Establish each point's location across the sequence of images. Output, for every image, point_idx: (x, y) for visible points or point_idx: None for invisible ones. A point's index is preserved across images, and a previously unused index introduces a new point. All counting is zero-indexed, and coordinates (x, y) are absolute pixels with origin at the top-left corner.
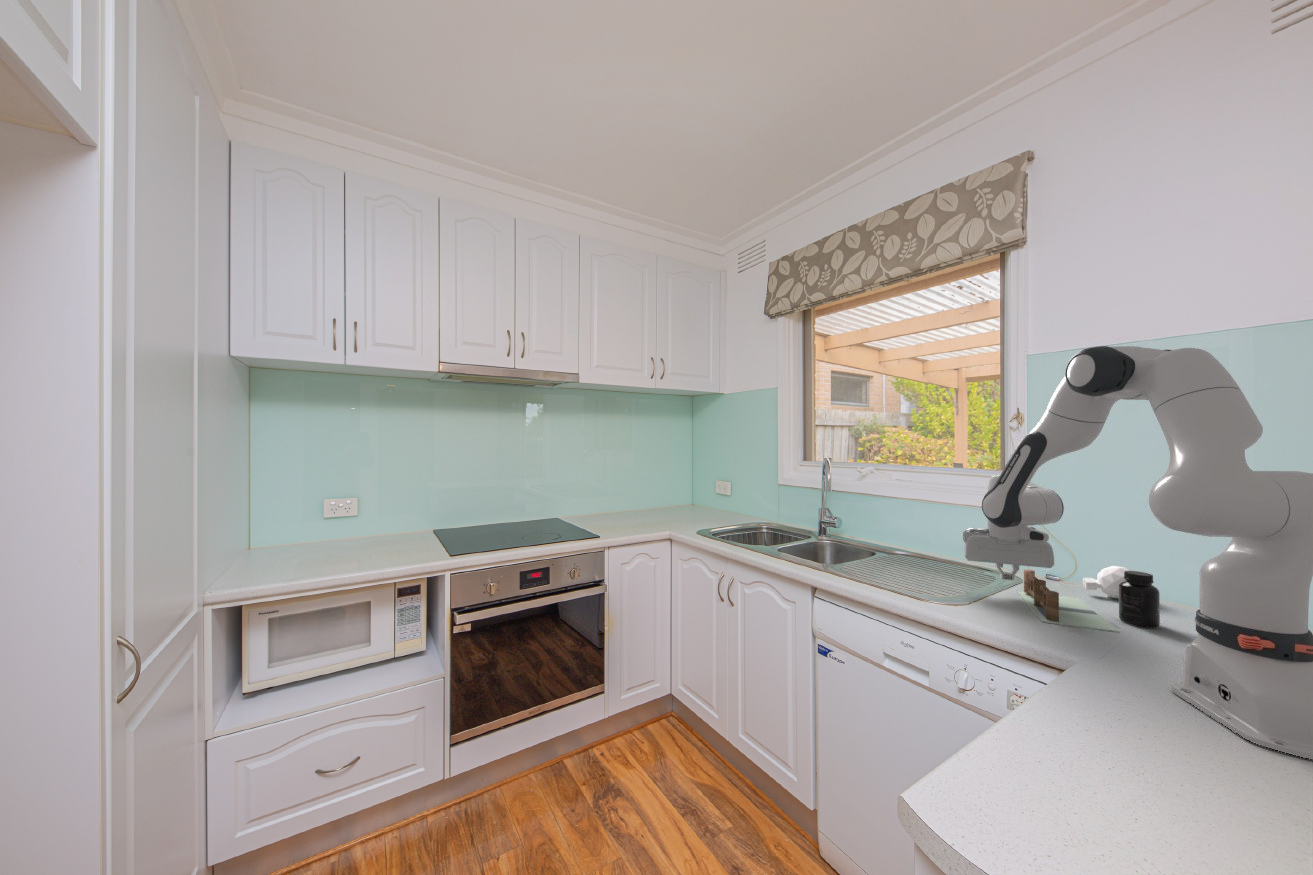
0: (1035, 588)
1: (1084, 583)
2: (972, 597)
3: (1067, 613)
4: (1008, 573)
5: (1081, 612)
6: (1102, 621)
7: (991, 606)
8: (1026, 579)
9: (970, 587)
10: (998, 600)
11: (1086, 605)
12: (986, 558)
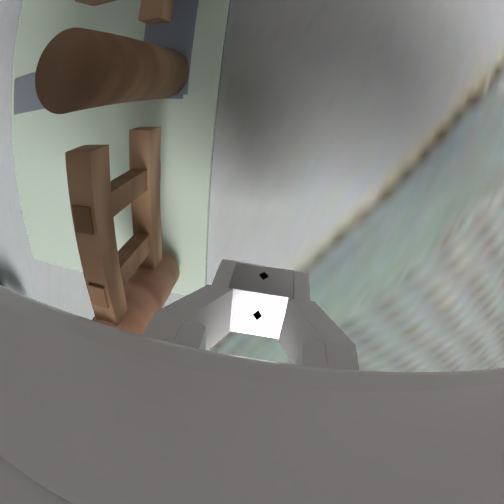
0: (136, 50)
1: None
2: (462, 160)
3: (91, 22)
4: (248, 313)
5: None
6: (31, 4)
7: (424, 25)
8: (143, 304)
9: (389, 314)
10: (355, 130)
11: (20, 179)
12: (479, 399)
